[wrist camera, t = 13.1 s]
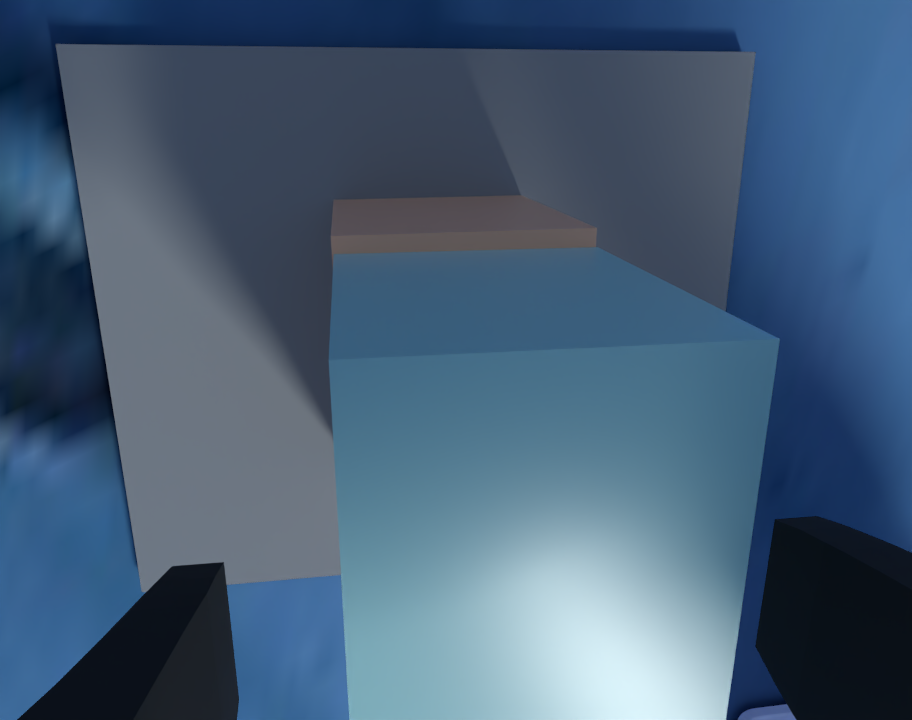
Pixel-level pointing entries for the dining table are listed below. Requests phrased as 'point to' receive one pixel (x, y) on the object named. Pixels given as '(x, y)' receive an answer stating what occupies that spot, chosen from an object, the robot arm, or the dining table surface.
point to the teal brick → (541, 485)
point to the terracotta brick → (453, 225)
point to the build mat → (309, 238)
